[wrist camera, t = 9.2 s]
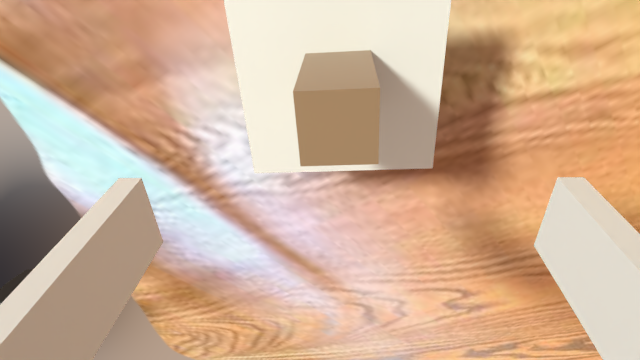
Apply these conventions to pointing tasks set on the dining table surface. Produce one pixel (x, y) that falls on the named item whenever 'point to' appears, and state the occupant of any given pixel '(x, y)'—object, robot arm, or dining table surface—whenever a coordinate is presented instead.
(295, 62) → the lid
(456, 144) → the dining table surface
